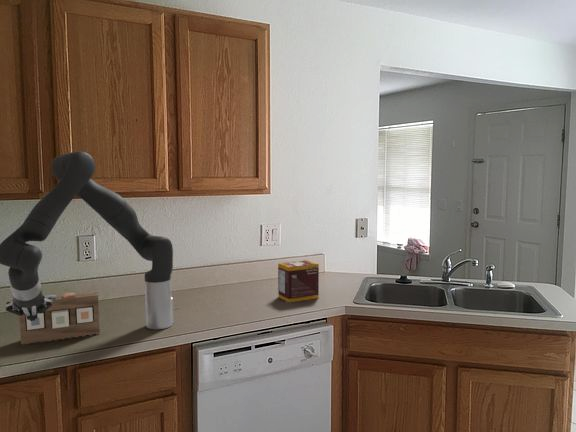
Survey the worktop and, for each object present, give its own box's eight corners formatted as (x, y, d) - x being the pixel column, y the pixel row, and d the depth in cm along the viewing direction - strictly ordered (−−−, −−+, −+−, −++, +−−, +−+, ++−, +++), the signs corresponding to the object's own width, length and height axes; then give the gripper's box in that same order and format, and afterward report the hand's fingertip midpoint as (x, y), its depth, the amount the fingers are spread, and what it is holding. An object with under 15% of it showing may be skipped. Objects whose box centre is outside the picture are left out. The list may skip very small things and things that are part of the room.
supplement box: (319, 298, 206) (319, 263, 204) (288, 302, 199) (288, 267, 198) (307, 292, 215) (307, 259, 214) (278, 297, 208) (277, 263, 207)
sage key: (53, 324, 158) (52, 310, 157) (69, 322, 160) (68, 308, 159) (52, 328, 153) (51, 314, 153) (69, 326, 155) (68, 312, 155)
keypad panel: (22, 339, 157) (20, 297, 156) (99, 329, 167) (97, 289, 166) (21, 345, 152) (18, 301, 151) (99, 334, 162) (97, 293, 161)
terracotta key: (77, 319, 163) (76, 305, 162) (92, 317, 165) (91, 303, 164) (77, 323, 158) (76, 309, 158) (93, 321, 160) (92, 307, 160)
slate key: (28, 325, 156) (27, 311, 156) (45, 323, 158) (44, 309, 158) (27, 330, 152) (26, 315, 152) (44, 328, 154) (43, 313, 154)
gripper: (52, 275, 139) (55, 305, 151) (0, 280, 133) (8, 310, 145) (52, 297, 134) (56, 325, 146) (-1, 302, 129) (7, 332, 141)
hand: (32, 318), depth 146 cm, fingers closed
